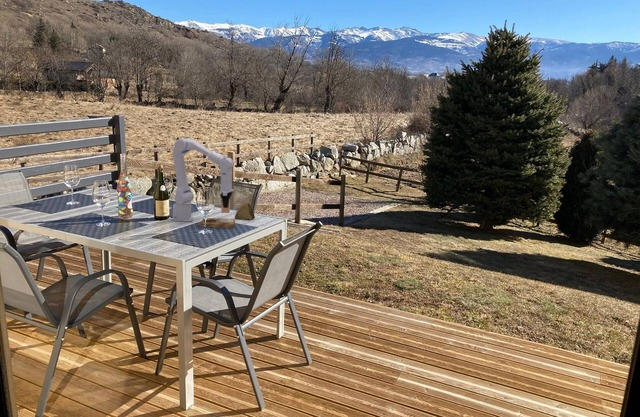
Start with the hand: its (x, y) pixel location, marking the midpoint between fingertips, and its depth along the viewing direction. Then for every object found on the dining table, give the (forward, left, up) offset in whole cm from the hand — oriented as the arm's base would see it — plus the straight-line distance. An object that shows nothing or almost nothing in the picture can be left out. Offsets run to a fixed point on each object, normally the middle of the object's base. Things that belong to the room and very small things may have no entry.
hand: (226, 206), depth 250 cm
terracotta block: (0, 0, -3) cm, 3 cm away
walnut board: (-4, 0, -10) cm, 11 cm away
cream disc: (0, 0, -8) cm, 8 cm away
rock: (+9, +15, -10) cm, 20 cm away
